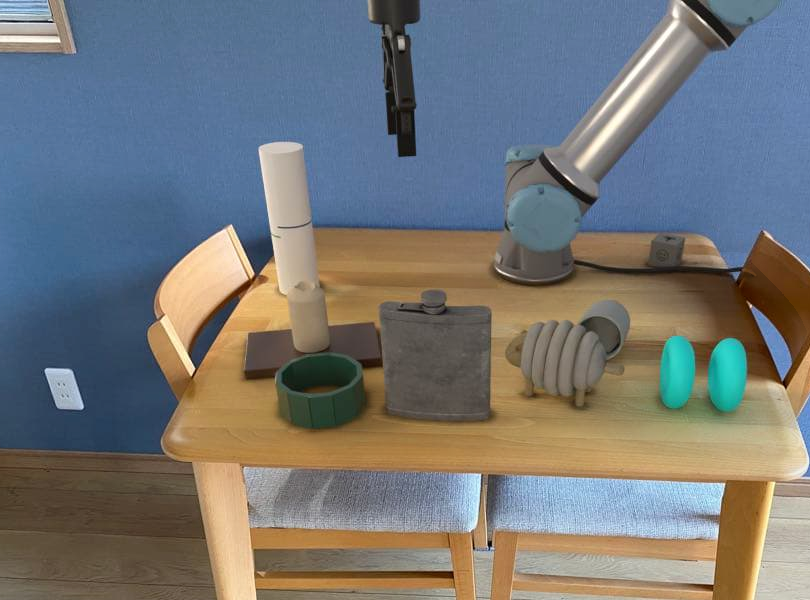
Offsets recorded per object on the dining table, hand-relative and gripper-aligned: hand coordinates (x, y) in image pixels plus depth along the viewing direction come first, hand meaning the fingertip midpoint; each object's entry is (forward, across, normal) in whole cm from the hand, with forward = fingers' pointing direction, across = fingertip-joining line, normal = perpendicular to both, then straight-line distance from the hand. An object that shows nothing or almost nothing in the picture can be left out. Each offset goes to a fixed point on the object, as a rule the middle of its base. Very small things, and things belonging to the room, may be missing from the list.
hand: (401, 144), depth 119 cm
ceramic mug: (+27, +24, +26) cm, 44 cm away
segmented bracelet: (+26, +32, -16) cm, 44 cm away
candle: (+25, +17, -17) cm, 35 cm away
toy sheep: (+27, +36, +16) cm, 48 cm away
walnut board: (+26, +17, -17) cm, 36 cm away
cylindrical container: (+27, -8, -19) cm, 34 cm away
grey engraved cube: (+27, -6, +51) cm, 58 cm away
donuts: (+27, +42, +34) cm, 61 cm away
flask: (+27, +37, -1) cm, 46 cm away
